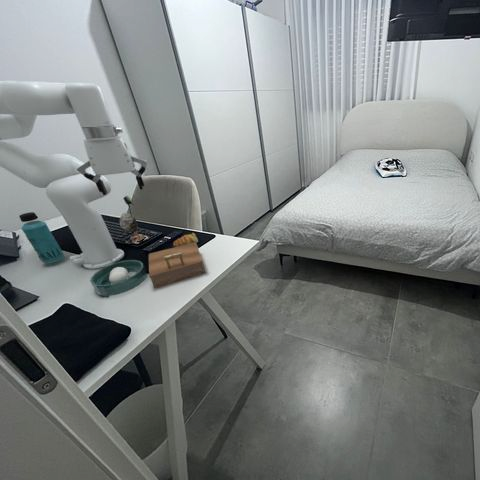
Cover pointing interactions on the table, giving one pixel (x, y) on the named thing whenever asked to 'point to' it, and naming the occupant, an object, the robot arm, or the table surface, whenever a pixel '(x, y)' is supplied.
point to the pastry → (185, 240)
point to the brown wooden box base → (178, 275)
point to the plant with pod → (130, 224)
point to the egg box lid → (174, 259)
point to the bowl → (107, 288)
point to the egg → (118, 275)
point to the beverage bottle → (41, 238)
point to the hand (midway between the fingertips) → (124, 191)
